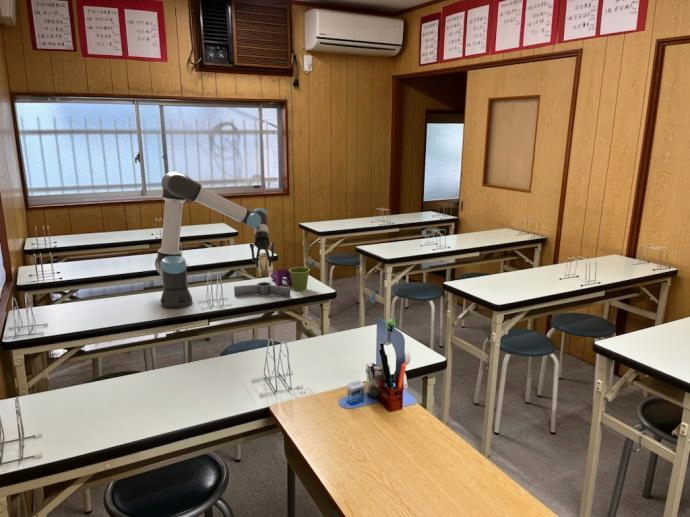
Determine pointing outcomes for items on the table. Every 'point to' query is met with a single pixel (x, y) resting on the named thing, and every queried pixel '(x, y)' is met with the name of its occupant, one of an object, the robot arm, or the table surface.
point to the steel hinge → (262, 290)
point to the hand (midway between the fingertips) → (264, 271)
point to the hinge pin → (263, 264)
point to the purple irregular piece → (279, 275)
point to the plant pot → (299, 278)
